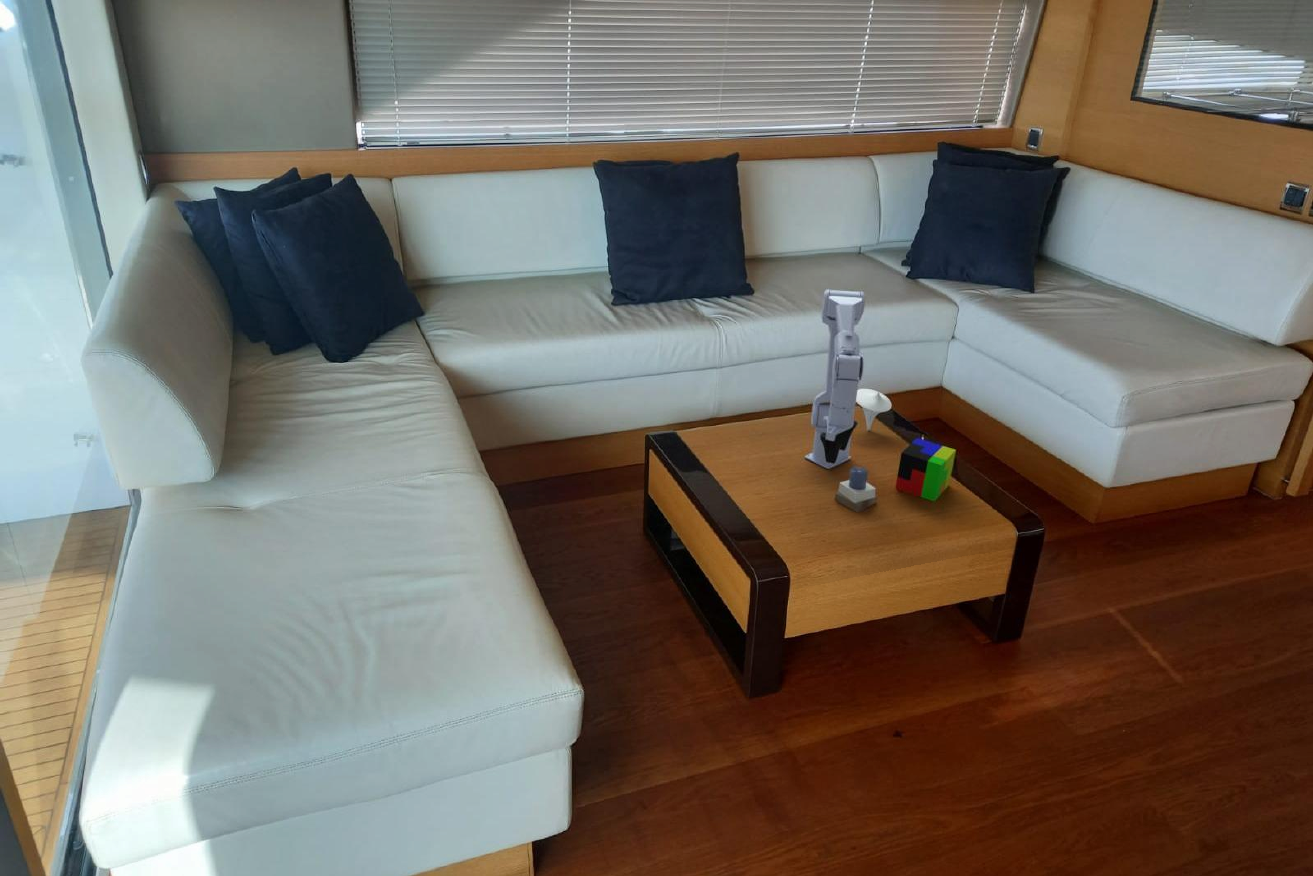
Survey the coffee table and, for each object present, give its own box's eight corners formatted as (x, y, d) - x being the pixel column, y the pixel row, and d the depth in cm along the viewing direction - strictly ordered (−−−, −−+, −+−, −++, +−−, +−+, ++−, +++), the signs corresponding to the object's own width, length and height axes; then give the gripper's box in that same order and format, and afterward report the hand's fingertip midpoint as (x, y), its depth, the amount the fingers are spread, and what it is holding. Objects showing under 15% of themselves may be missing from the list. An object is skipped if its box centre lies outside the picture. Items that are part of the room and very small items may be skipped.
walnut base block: (852, 493, 228) (854, 484, 227) (875, 505, 223) (877, 496, 222) (834, 502, 224) (835, 493, 223) (857, 514, 219) (858, 505, 218)
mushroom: (894, 431, 258) (901, 391, 253) (872, 442, 252) (878, 402, 246) (864, 418, 265) (869, 379, 260) (840, 429, 258) (846, 389, 253)
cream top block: (857, 486, 226) (859, 477, 225) (874, 497, 222) (875, 488, 220) (838, 491, 223) (839, 482, 222) (854, 503, 219) (856, 494, 218)
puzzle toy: (910, 473, 237) (916, 438, 233) (948, 485, 232) (956, 449, 228) (895, 488, 230) (901, 452, 225) (934, 501, 225) (941, 465, 220)
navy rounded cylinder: (853, 479, 224) (855, 465, 222) (868, 485, 222) (870, 470, 220) (845, 486, 221) (847, 471, 219) (861, 491, 219) (863, 476, 217)
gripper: (835, 389, 223) (829, 439, 229) (815, 411, 211) (809, 463, 218) (864, 395, 220) (857, 446, 226) (845, 418, 209) (838, 471, 215)
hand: (835, 455), depth 222 cm, fingers open, 7 cm apart
